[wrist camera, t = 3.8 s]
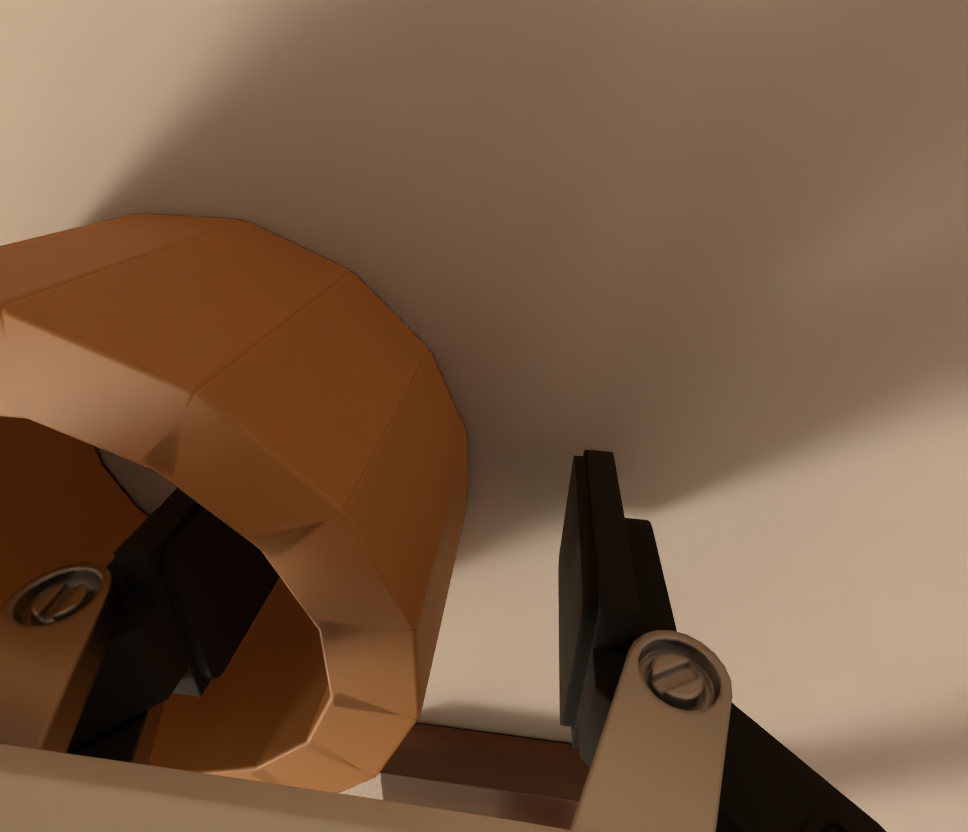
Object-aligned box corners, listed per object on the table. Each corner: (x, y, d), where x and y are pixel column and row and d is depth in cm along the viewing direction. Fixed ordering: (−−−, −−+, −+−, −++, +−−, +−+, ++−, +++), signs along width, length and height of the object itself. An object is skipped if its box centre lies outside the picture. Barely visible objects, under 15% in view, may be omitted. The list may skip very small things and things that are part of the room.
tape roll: (-67, 200, 10) (-523, 265, 6) (473, 232, 9) (403, 335, 5) (107, 584, 15) (-67, 769, 11) (463, 627, 15) (425, 846, 10)
